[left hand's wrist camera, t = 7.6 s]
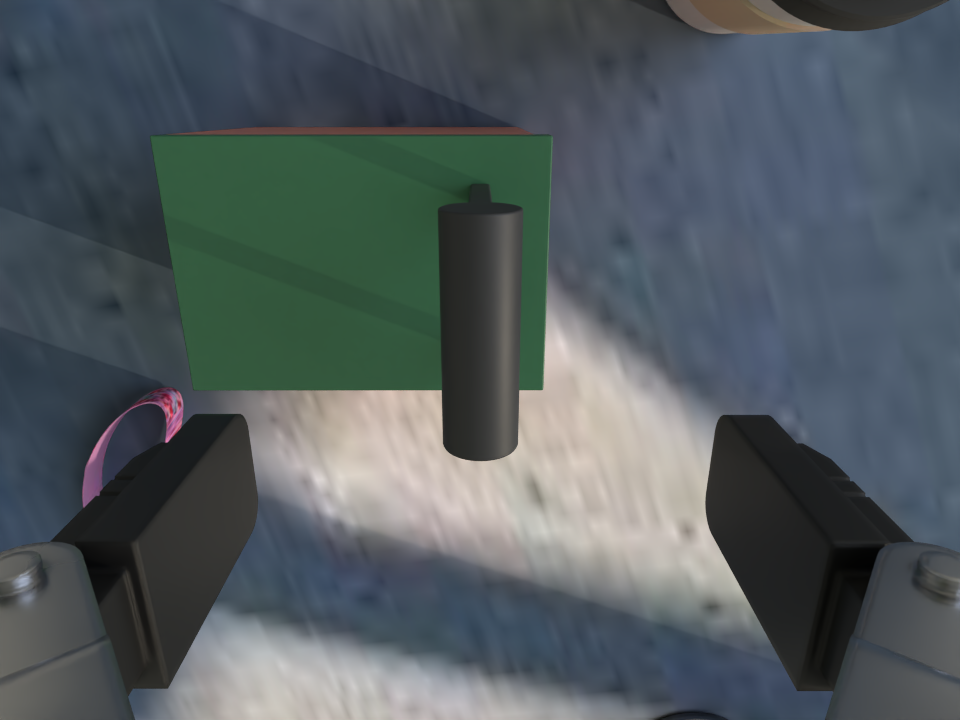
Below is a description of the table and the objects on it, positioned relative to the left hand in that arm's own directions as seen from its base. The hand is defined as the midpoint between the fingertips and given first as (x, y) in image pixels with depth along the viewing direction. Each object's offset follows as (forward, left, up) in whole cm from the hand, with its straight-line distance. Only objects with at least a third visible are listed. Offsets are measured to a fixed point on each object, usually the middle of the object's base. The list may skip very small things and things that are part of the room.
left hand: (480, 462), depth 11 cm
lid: (-3, +3, -15) cm, 16 cm away
